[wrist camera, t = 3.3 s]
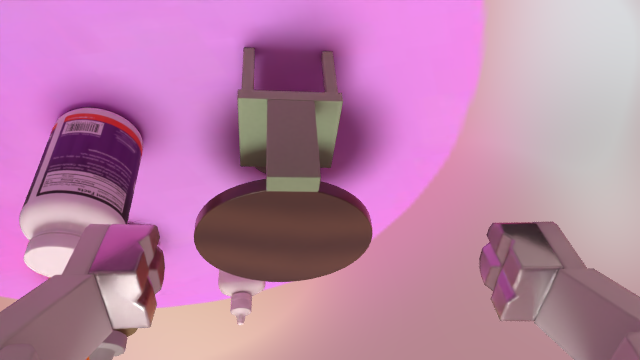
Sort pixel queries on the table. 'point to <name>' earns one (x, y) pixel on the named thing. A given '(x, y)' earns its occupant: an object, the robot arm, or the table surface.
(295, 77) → the table surface
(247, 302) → the eye dropper bottle
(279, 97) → the chair
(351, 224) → the little table
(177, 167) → the table surface
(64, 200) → the pill bottle
